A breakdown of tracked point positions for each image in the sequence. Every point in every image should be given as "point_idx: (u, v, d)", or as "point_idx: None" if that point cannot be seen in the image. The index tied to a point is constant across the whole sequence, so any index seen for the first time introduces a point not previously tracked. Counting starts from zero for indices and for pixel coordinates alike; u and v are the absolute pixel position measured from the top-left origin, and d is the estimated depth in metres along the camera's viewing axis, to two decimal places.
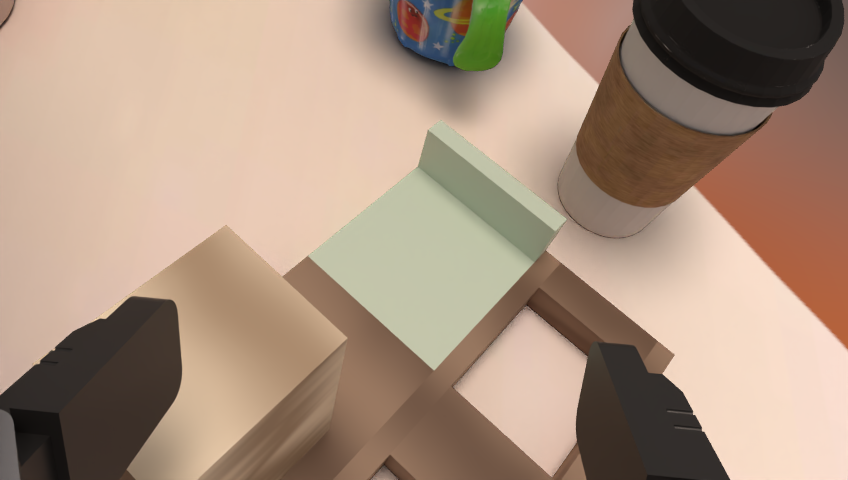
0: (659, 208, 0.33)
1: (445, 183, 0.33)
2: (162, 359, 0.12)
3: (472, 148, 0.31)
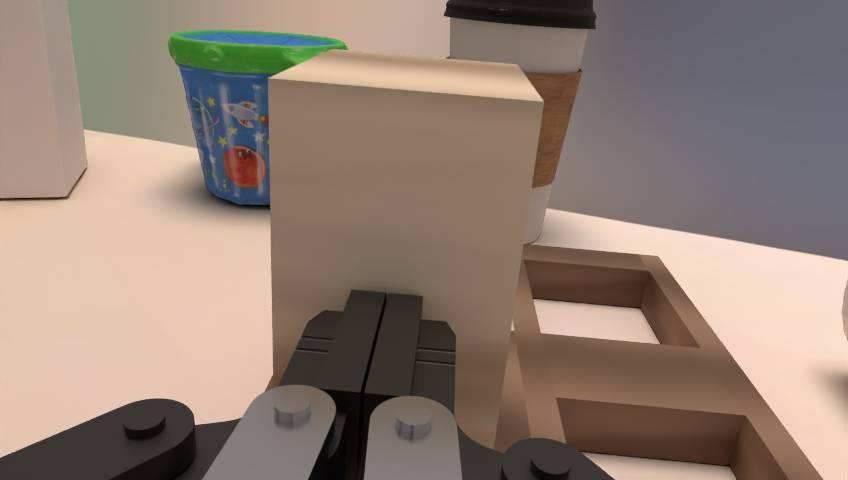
0: (548, 188, 0.37)
1: None
2: None
3: None
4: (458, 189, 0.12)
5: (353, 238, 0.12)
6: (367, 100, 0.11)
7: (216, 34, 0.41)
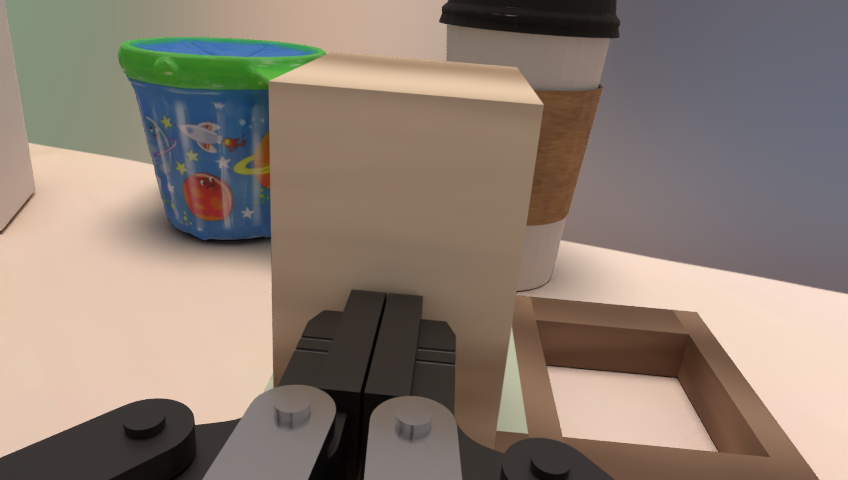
0: (562, 223, 0.32)
1: None
2: None
3: None
4: (459, 192, 0.12)
5: (353, 241, 0.12)
6: (368, 103, 0.11)
7: (178, 42, 0.36)
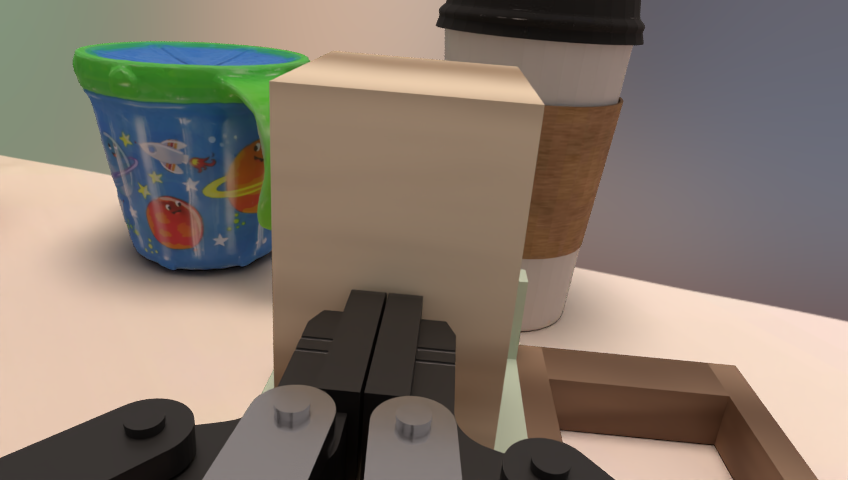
0: (575, 255, 0.28)
1: None
2: None
3: None
4: (459, 191, 0.12)
5: (354, 241, 0.12)
6: (368, 103, 0.11)
7: (145, 47, 0.32)
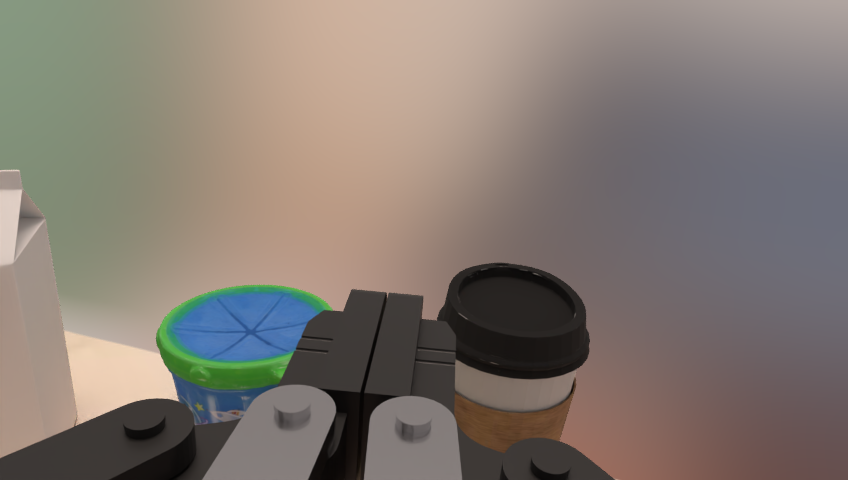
0: None
1: None
2: None
3: None
4: None
5: None
6: None
7: (206, 302, 0.41)
